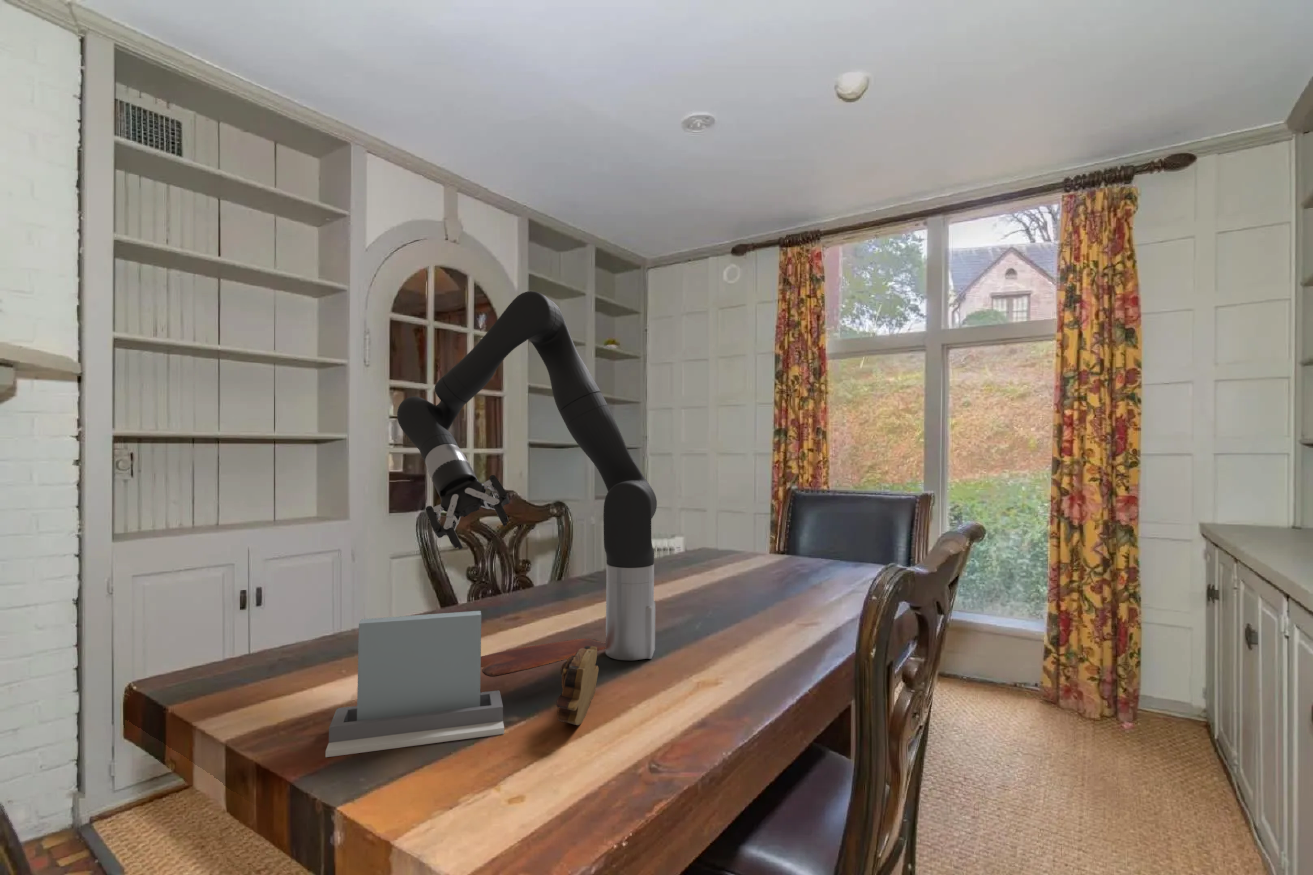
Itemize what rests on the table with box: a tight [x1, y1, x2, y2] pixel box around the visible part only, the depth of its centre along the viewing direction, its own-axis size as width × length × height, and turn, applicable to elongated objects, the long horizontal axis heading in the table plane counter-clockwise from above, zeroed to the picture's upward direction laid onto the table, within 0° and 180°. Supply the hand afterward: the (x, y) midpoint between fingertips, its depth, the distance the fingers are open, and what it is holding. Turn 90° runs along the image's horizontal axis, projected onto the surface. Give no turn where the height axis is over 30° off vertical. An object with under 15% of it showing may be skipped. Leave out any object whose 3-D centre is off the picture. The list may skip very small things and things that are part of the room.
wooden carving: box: [555, 646, 600, 726], centre depth 91 cm, size 16×5×10 cm, turn 178°
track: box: [325, 689, 505, 758], centre depth 88 cm, size 22×11×3 cm, turn 109°
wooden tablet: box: [481, 638, 606, 677], centre depth 120 cm, size 27×10×2 cm, turn 130°
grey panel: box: [356, 610, 482, 721], centre depth 91 cm, size 16×8×14 cm, turn 109°
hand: (482, 535), depth 112 cm, fingers open, 8 cm apart
